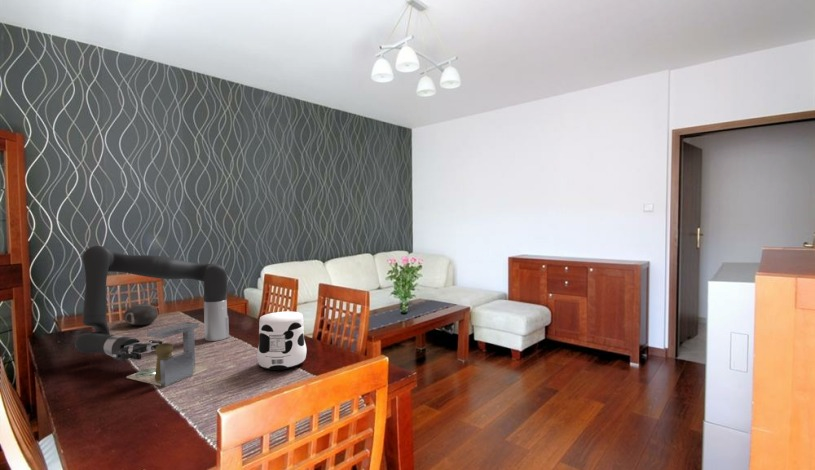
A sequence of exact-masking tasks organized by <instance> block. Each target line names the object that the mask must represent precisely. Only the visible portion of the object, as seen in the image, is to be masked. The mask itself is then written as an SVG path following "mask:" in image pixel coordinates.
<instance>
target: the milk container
mask: <svg viewBox="0 0 815 470" xmlns="http://www.w3.org/2000/svg"><path fill="white" fill-rule="evenodd" d="M304 322H305V321H304V315H303V313H301V312H298V311H278V312H270V313H266V314H264V315H262V316H260V317H259V323H258V325H259V329H258V336H259V339H258V341H259V343H258V347H257V351H256V358H257V363H258V365H259V366H260V367H261V368H263V369H266V370H270V371H280V370H281V371H283V370H287V369H292V368H295V367H297V366H299V365H301V364H302V363H304V361H305V360H306V358H307V349H308V348H307V344H306V341H305V334H304V331H305V329H304V326H305V325H304Z"/></svg>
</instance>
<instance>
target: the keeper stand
mask: <svg viewBox="0 0 815 470" xmlns="http://www.w3.org/2000/svg"><path fill="white" fill-rule="evenodd" d="M198 328H199V322H198V323H197V322H191V321H181V322H178V323H174V324H169V325H166V326H163V327H158V328H155V329H152V330H149V331H147V333H146V334H147V335H146V336H147V337H151V338H157V339H165V338H168V337H171V336H175V335H178V334H182V345H183V347H182V349H183V352H179V353H176V354H174V355H173V354H172V356H170V357H168V358H165V359H162V360H160V371H161V380H156V379H155V372H156V365H154V366H152V367H148V368H145V369H142V370H139V371H137V372H136V373H133V374H129V375H127V376H126V379H130V380H133V381H138V382H142V383H145V384H146V383H147V384H151V385H155V386H159V387H163V388H166V387H169V386H171V385H174V384H176V383H178V382H180V381H182V380H185V379H188V378H191V377H192V376H195V375H198V374H200V373H202V372H204V371H206V370H207V367H201V366H199V365H198V366H197V365H196V348H195V345H196V344H195V329H198Z"/></svg>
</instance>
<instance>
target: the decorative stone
mask: <svg viewBox="0 0 815 470" xmlns="http://www.w3.org/2000/svg"><path fill="white" fill-rule="evenodd" d="M158 315H159V311H158V309H157V308H156V307H155V306H154V305H152V304H148V303H140V304H136V305H132V306H130V307H128V308H127V309H126V310H125V312H124V315H123V319H124V321H125V322H126V323H127V324H128V325H132V326H137V327H138V326H146V325H150V324H152V323H153V322H154V321H155V320H156V319H157V318H158Z"/></svg>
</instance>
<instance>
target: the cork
mask: <svg viewBox="0 0 815 470" xmlns="http://www.w3.org/2000/svg"><path fill="white" fill-rule="evenodd" d="M154 349H155V348H154ZM173 351H174V346H173V343H168V342H166V343H165V342H164V343H162V344H160V345H158V346H157V347H156V349H155V351H154V352H155V355H156V365H155V366H156V372H155V379H156V380H161V371H160V360H162V359H165V358H168V357H170V356H173V354H172V353H173Z"/></svg>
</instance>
